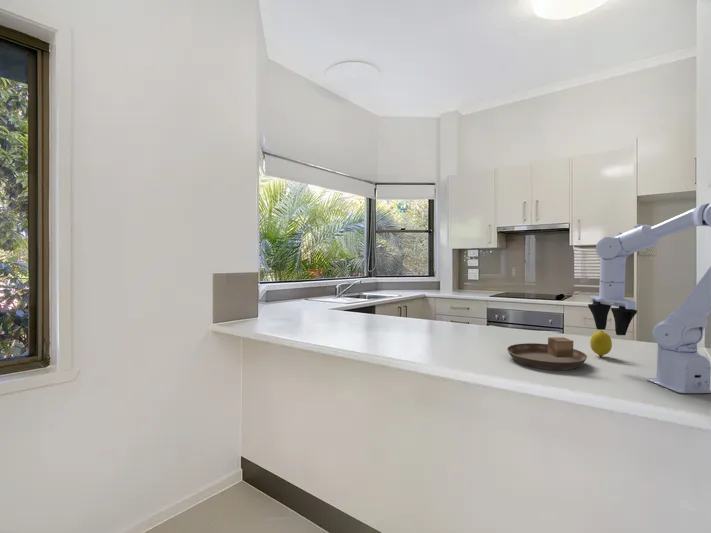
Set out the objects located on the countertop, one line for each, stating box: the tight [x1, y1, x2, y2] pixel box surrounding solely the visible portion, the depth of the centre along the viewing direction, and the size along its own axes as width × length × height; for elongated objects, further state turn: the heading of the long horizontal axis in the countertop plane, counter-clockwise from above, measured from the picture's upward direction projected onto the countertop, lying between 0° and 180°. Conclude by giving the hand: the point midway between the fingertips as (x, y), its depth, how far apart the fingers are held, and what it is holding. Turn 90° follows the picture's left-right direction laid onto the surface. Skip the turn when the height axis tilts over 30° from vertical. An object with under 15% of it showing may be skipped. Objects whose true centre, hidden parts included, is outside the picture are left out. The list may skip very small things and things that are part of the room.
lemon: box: [589, 330, 613, 358], centre depth 117 cm, size 6×6×8 cm
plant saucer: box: [506, 342, 588, 371], centre depth 111 cm, size 21×21×3 cm
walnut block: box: [547, 336, 574, 357], centre depth 107 cm, size 4×4×4 cm
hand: (610, 332), depth 105 cm, fingers open, 7 cm apart
